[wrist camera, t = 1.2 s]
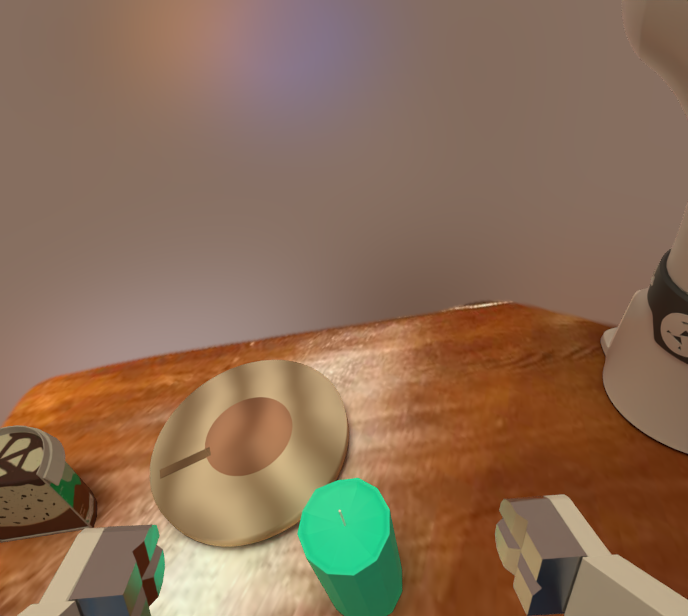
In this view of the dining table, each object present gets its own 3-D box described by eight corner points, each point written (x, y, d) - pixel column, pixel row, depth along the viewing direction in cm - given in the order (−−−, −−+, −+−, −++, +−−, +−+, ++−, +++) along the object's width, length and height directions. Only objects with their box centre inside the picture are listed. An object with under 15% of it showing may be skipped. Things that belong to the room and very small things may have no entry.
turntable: (309, 345, 53) (307, 336, 52) (384, 479, 38) (382, 470, 37) (151, 412, 48) (144, 404, 47) (164, 593, 34) (155, 586, 33)
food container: (128, 466, 45) (75, 410, 38) (108, 525, 40) (43, 472, 34) (19, 484, 45) (-52, 431, 39) (-14, 545, 40) (-101, 496, 34)
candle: (410, 550, 34) (399, 477, 26) (392, 638, 30) (372, 581, 22) (342, 529, 36) (313, 455, 29) (316, 608, 32) (274, 547, 24)
